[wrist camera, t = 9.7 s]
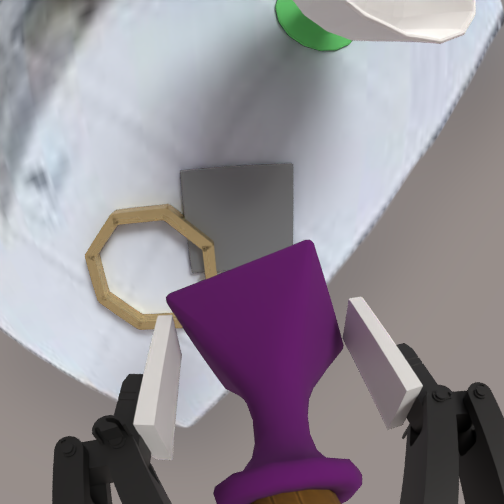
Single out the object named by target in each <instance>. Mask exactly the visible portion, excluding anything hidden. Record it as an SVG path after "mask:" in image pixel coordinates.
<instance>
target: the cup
mask: <svg viewBox="0 0 504 504" xmlns="http://www.w3.org/2000/svg"><path fill="white" fill-rule="evenodd" d="M275 9H276V13H277V17H278V21H279V23H280V25H281V26H282V27H283V29H284V30H285V31H286V33H287V34H288V36H290V37H291V38H293V39H294V40H296V41H297V42H299V43H300V44H301V45H303V46H306V47H309V48H313V49H316V50H319V51H327V50H338V49H340V48H342V47H344V46H347V45H349V44H350V43H351V42H352V41H400V42H424V43H437V44H441V43H444V42H446V41H449V40H451V39H454V38H457V37H459V36H462V35H464V34H465V32H466V30H467V29H468V27H469V25H470V23H471V22H472V20H473V18H474V16H475V0H277V3H276V7H275Z"/></svg>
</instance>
